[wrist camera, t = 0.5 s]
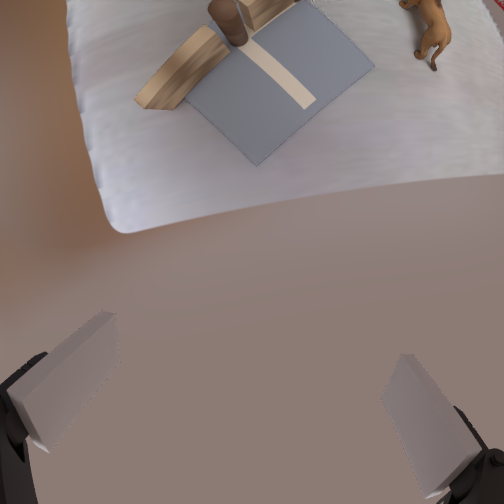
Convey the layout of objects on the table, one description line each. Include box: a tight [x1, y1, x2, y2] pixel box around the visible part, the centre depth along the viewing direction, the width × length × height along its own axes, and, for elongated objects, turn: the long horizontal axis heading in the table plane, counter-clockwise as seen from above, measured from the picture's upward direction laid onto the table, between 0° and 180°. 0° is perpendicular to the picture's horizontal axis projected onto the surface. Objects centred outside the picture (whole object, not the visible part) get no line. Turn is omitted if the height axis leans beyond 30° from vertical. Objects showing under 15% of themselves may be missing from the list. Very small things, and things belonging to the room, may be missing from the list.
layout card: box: [184, 0, 375, 166], centre depth 27 cm, size 20×18×1 cm
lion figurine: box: [399, 0, 451, 71], centre depth 17 cm, size 15×5×9 cm, turn 19°
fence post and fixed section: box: [208, 0, 301, 47], centre depth 19 cm, size 12×2×11 cm, turn 134°
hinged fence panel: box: [134, 24, 230, 110], centre depth 24 cm, size 10×2×8 cm, turn 134°
